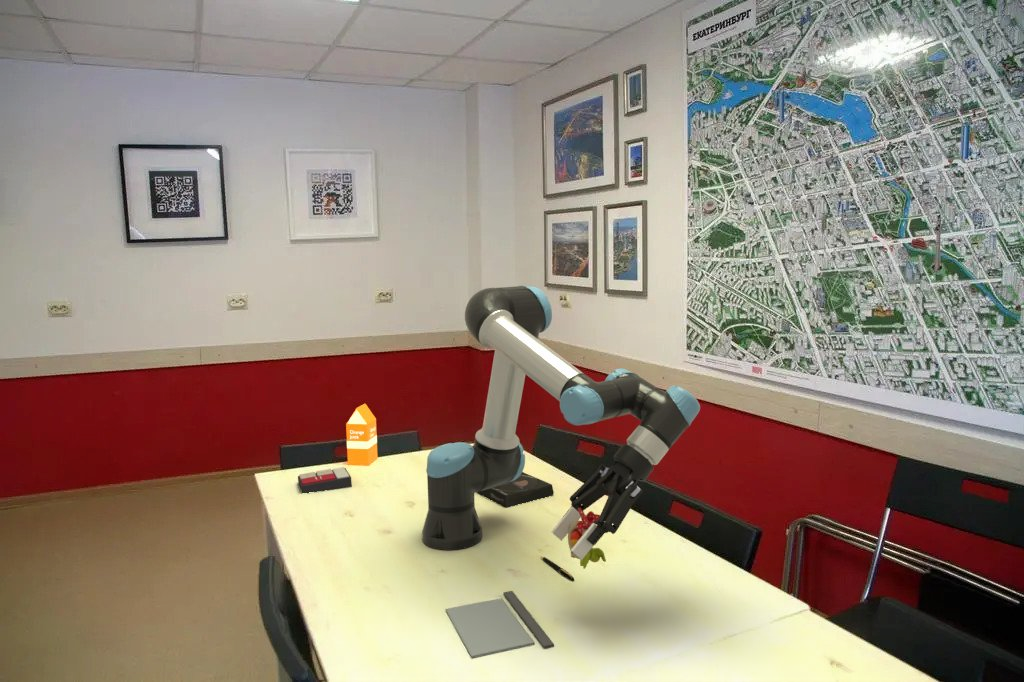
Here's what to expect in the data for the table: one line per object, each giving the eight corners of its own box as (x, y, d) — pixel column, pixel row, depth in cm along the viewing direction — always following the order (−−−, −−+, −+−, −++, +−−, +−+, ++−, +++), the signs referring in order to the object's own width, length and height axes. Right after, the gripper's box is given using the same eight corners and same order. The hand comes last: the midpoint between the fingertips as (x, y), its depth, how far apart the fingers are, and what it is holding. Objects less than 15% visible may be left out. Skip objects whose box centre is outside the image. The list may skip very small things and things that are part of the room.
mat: (443, 606, 142) (443, 603, 142) (512, 592, 148) (512, 590, 148) (475, 664, 122) (474, 661, 122) (553, 646, 127) (553, 643, 127)
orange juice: (347, 465, 241) (344, 408, 239) (357, 457, 250) (354, 402, 248) (369, 465, 240) (366, 408, 238) (378, 458, 249) (375, 403, 246)
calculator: (297, 473, 222) (345, 465, 228) (298, 486, 223) (346, 477, 228) (301, 483, 212) (351, 474, 218) (302, 497, 212) (352, 487, 218)
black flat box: (553, 497, 207) (553, 484, 207) (505, 509, 198) (505, 495, 197) (522, 482, 221) (521, 470, 220) (475, 493, 211) (475, 481, 211)
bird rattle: (561, 572, 135) (588, 570, 128) (548, 514, 138) (573, 509, 131) (587, 564, 139) (615, 562, 131) (573, 508, 141) (600, 502, 134)
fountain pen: (538, 559, 164) (538, 553, 164) (542, 557, 165) (542, 551, 165) (572, 583, 152) (571, 576, 152) (576, 582, 152) (576, 575, 152)
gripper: (682, 482, 128) (604, 580, 125) (624, 452, 148) (556, 535, 145) (657, 457, 126) (577, 556, 123) (602, 430, 146) (532, 514, 142)
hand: (565, 545), depth 134 cm, fingers closed on bird rattle, 8 cm apart
